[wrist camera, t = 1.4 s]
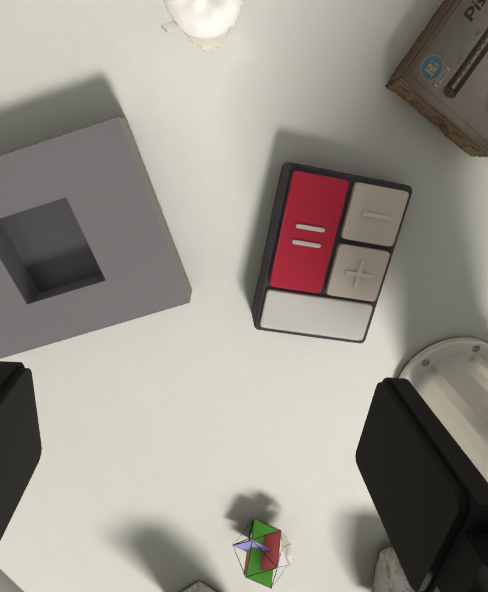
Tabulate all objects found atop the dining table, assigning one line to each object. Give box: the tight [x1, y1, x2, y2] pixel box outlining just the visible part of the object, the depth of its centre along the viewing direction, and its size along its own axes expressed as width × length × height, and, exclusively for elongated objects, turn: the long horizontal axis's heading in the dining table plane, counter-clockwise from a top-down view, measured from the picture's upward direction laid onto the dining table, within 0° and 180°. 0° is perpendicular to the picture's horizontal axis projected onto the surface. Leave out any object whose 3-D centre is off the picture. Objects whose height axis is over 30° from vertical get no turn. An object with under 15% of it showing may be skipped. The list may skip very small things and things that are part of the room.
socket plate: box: [0, 117, 192, 359], centre depth 34 cm, size 20×16×4 cm
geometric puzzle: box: [232, 518, 293, 589], centre depth 49 cm, size 7×7×8 cm
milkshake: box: [161, 0, 243, 51], centre depth 25 cm, size 4×5×10 cm
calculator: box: [252, 163, 412, 343], centre depth 36 cm, size 11×4×15 cm
